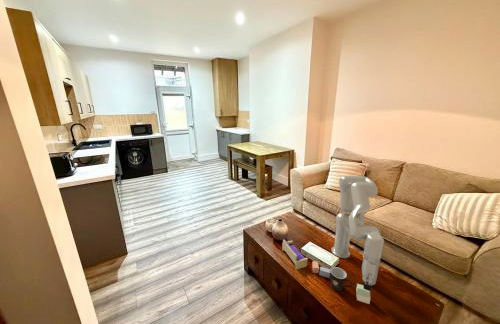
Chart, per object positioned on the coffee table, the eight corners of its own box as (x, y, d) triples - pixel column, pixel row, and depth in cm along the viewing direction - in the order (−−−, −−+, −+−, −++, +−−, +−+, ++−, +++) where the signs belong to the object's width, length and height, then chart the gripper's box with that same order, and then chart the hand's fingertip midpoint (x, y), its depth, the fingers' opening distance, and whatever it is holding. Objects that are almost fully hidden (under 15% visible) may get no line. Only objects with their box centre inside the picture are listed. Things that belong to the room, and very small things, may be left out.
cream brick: (356, 300, 112) (357, 294, 111) (356, 295, 115) (357, 289, 114) (369, 304, 109) (370, 298, 108) (368, 299, 112) (369, 293, 111)
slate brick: (319, 275, 129) (319, 269, 128) (320, 271, 132) (320, 266, 131) (329, 278, 126) (329, 273, 125) (329, 274, 129) (330, 269, 128)
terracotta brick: (312, 266, 136) (312, 261, 135) (317, 266, 136) (317, 261, 135) (313, 272, 131) (313, 267, 130) (318, 273, 130) (319, 268, 129)
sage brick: (356, 293, 111) (357, 287, 110) (356, 289, 114) (357, 283, 113) (368, 298, 109) (370, 292, 108) (368, 293, 111) (369, 287, 110)
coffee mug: (325, 283, 123) (327, 269, 120) (336, 279, 126) (338, 265, 123) (340, 299, 112) (342, 284, 110) (352, 294, 115) (354, 280, 113)
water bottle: (374, 288, 119) (381, 252, 113) (360, 281, 124) (366, 245, 118) (378, 279, 126) (385, 244, 119) (364, 272, 131) (370, 238, 125)
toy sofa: (307, 267, 135) (308, 254, 133) (296, 270, 132) (297, 257, 130) (291, 247, 154) (292, 236, 152) (281, 250, 152) (282, 238, 149)
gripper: (362, 244, 114) (357, 268, 119) (364, 265, 99) (359, 292, 104) (377, 248, 111) (372, 273, 116) (382, 270, 96) (375, 298, 101)
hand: (366, 282), depth 110 cm, fingers open, 9 cm apart
